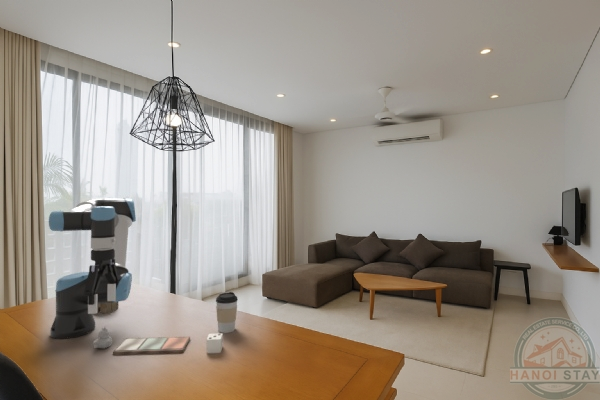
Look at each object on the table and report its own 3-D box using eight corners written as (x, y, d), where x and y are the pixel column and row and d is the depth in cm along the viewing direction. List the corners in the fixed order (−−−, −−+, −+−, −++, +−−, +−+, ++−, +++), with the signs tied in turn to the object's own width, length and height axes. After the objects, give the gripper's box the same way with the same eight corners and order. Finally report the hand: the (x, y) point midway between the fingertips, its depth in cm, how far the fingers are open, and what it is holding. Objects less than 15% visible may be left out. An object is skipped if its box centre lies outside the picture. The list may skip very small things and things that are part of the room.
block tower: (120, 310, 161) (80, 301, 172) (121, 293, 161) (80, 285, 171) (105, 316, 154) (64, 305, 164) (106, 298, 153) (65, 289, 164)
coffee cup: (226, 335, 132) (226, 298, 132) (210, 330, 137) (211, 294, 136) (241, 328, 139) (242, 293, 139) (226, 323, 144) (226, 289, 144)
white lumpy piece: (115, 346, 122) (115, 324, 122) (98, 353, 116) (98, 331, 116) (106, 343, 124) (106, 322, 124) (88, 350, 118) (89, 328, 118)
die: (206, 353, 117) (206, 339, 117) (208, 347, 122) (209, 333, 122) (220, 353, 118) (220, 339, 118) (222, 346, 123) (222, 333, 123)
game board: (112, 354, 115) (112, 351, 115) (126, 340, 126) (126, 337, 126) (182, 352, 117) (182, 349, 117) (190, 339, 128) (190, 336, 128)
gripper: (95, 254, 107) (95, 319, 107) (128, 243, 132) (127, 296, 132) (71, 254, 107) (71, 319, 107) (108, 243, 131) (108, 296, 132)
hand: (102, 306), depth 119 cm, fingers open, 13 cm apart
